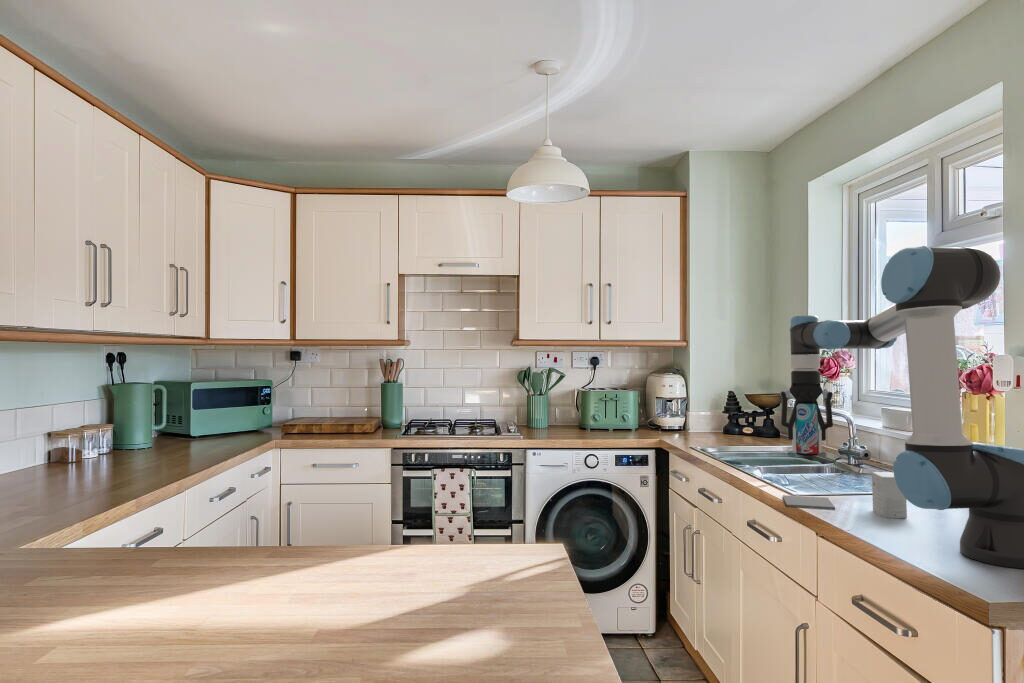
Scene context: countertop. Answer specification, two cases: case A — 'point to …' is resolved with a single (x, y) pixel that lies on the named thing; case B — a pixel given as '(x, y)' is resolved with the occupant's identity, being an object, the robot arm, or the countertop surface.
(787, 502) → the coaster
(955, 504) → the robot arm
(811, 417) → the beverage can
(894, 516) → the small box
